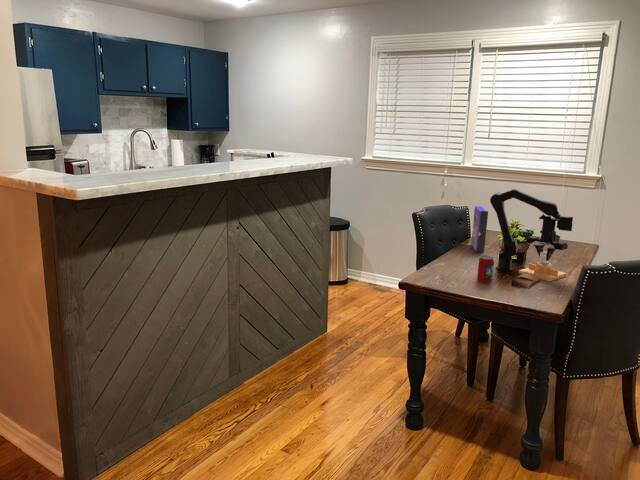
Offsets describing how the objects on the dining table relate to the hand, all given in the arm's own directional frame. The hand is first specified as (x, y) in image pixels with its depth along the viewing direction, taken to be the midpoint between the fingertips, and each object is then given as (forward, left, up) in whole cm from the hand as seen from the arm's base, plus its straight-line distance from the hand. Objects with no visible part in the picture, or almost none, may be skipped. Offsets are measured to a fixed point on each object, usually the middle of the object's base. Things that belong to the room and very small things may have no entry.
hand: (544, 259), depth 253 cm
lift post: (0, 0, -6) cm, 6 cm away
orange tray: (0, 0, -8) cm, 8 cm away
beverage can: (-36, +8, -8) cm, 38 cm away
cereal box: (+19, +52, -8) cm, 56 cm away
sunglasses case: (-20, -3, -8) cm, 22 cm away
